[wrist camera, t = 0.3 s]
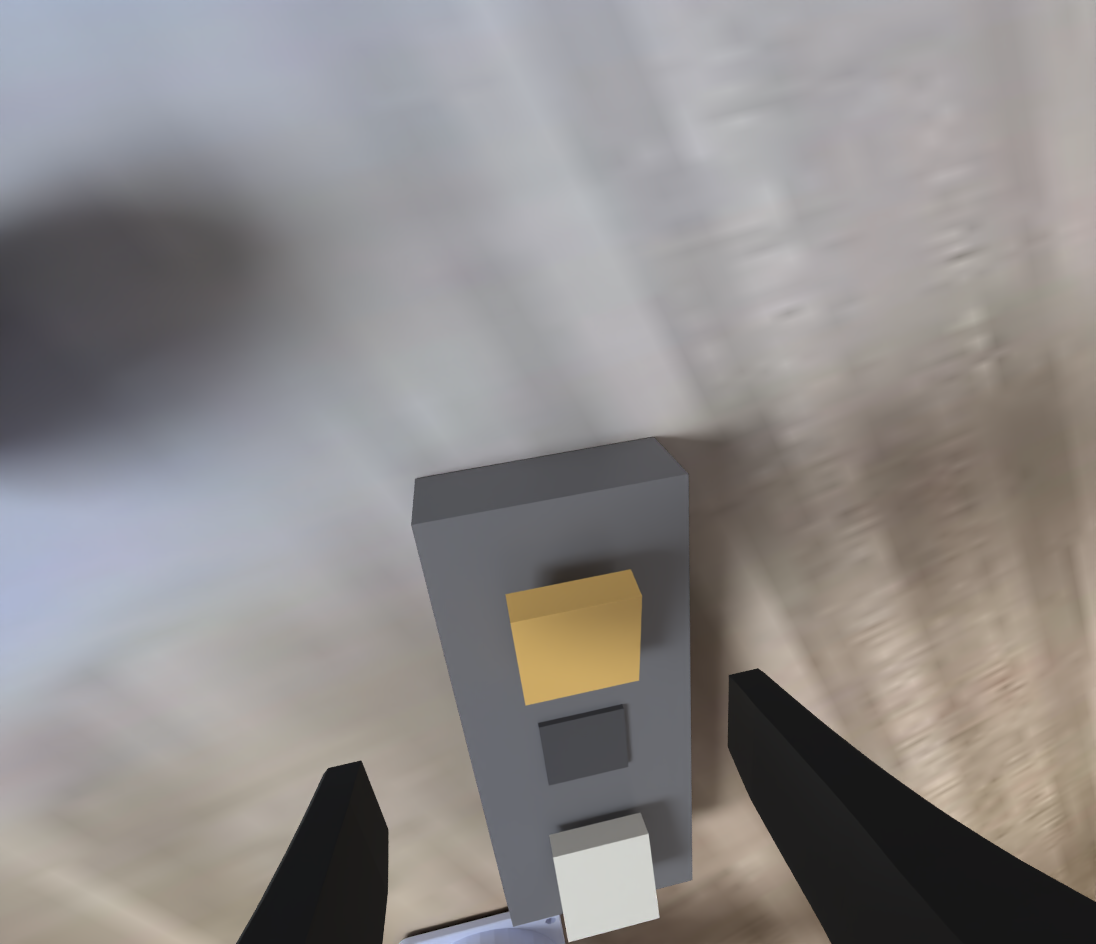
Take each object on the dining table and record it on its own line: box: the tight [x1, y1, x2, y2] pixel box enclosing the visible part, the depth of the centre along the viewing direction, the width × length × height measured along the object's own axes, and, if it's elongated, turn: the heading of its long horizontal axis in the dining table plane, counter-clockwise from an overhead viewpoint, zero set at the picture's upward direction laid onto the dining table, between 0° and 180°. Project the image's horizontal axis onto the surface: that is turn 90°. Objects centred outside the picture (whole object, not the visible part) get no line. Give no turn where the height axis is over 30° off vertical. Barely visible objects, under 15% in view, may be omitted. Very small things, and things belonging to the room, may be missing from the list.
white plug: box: [549, 812, 659, 942], centre depth 22 cm, size 4×4×1 cm
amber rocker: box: [505, 569, 642, 705], centre depth 17 cm, size 4×4×1 cm
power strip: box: [411, 437, 692, 927], centre depth 23 cm, size 23×8×3 cm, turn 7°
